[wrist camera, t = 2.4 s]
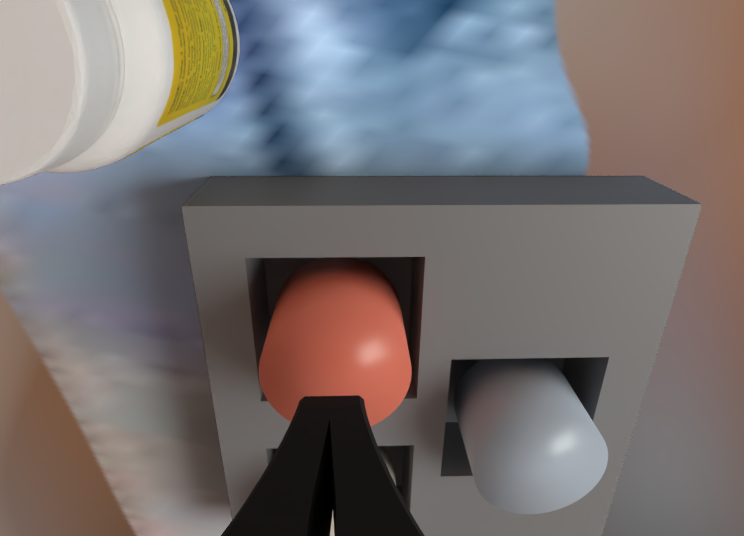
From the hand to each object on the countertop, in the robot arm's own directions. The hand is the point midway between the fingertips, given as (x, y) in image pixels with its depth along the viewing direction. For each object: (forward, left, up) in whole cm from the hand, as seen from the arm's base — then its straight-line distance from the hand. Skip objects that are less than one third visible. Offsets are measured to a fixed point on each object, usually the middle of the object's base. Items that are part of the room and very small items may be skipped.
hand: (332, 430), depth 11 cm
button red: (0, 0, -5) cm, 5 cm away
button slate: (-4, -6, -5) cm, 9 cm away
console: (-4, -3, -7) cm, 8 cm away
